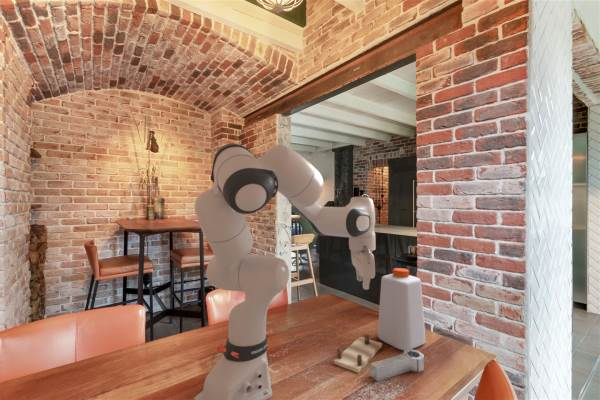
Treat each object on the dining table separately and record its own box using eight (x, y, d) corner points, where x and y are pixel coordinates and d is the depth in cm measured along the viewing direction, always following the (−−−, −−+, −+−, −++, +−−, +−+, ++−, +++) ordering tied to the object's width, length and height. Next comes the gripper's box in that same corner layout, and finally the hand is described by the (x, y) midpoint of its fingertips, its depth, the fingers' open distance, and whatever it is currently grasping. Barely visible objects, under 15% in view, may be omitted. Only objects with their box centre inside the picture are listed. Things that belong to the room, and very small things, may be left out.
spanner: (380, 384, 86) (380, 371, 87) (367, 373, 92) (367, 360, 92) (427, 368, 95) (427, 356, 95) (413, 359, 100) (413, 347, 100)
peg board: (358, 373, 92) (358, 359, 92) (333, 363, 98) (333, 351, 98) (381, 346, 109) (381, 335, 109) (359, 339, 115) (359, 329, 115)
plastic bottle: (398, 328, 124) (397, 263, 125) (430, 343, 112) (429, 270, 112) (373, 337, 116) (372, 268, 116) (404, 354, 104) (404, 276, 104)
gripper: (380, 249, 88) (380, 294, 88) (364, 239, 108) (365, 276, 108) (359, 249, 88) (359, 294, 88) (348, 240, 108) (348, 276, 108)
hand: (362, 284), depth 98 cm, fingers open, 8 cm apart
